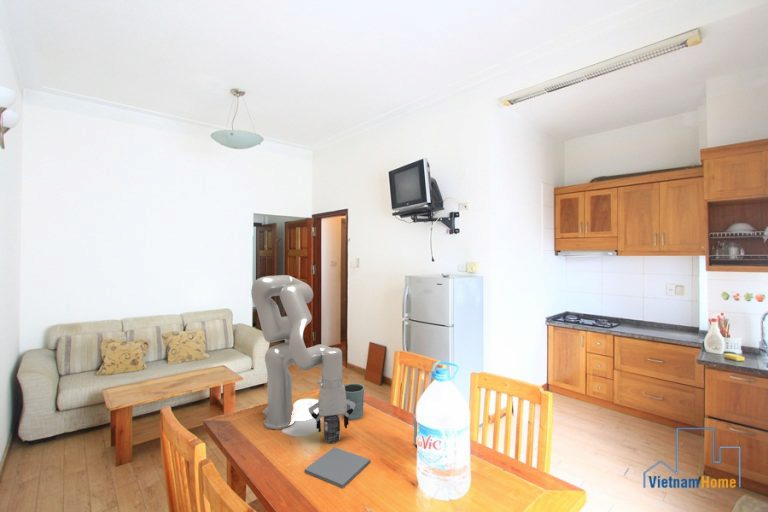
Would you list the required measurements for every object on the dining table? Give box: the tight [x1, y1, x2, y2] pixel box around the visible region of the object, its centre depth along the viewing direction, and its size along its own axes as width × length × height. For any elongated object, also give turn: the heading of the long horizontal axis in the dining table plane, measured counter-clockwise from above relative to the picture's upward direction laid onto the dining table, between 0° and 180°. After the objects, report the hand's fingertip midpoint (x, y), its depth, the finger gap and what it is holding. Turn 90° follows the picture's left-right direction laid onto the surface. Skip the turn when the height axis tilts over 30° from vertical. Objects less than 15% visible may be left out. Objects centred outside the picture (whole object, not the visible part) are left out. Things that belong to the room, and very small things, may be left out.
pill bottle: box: [323, 415, 341, 444], centre depth 132 cm, size 6×6×11 cm
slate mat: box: [304, 446, 371, 489], centre depth 115 cm, size 15×15×1 cm
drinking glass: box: [342, 382, 365, 421], centre depth 152 cm, size 10×10×12 cm
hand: (332, 428), depth 132 cm, fingers open, 9 cm apart
